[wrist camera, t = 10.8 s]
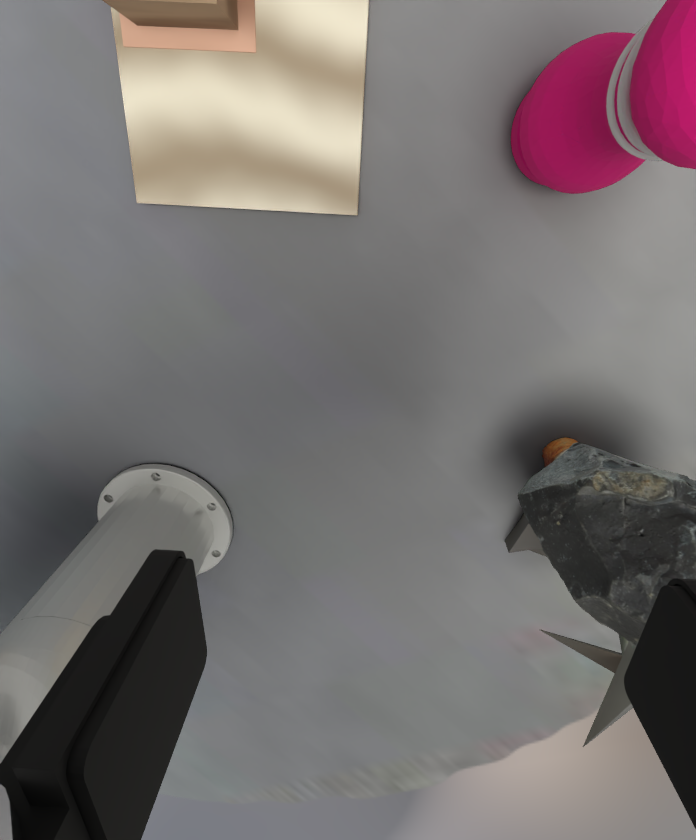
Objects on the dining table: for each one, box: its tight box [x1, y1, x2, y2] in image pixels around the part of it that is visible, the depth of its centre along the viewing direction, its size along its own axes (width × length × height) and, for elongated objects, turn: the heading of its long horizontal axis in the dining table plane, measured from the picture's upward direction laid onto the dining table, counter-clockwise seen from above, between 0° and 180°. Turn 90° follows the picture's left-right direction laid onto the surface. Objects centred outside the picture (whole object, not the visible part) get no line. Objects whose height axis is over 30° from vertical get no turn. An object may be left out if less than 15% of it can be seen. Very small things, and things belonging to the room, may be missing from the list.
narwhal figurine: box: [505, 438, 696, 746], centre depth 32 cm, size 14×15×18 cm
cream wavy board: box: [111, 0, 369, 215], centre depth 28 cm, size 17×15×1 cm
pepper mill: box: [511, 0, 696, 194], centre depth 20 cm, size 7×7×20 cm
